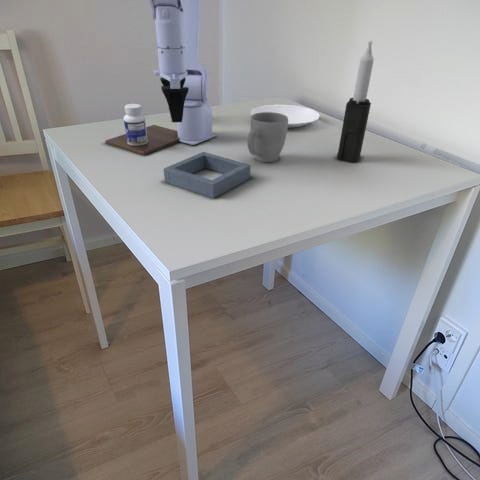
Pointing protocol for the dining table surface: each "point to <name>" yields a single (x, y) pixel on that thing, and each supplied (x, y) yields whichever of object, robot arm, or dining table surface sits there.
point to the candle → (357, 112)
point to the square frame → (185, 179)
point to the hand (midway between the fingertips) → (176, 116)
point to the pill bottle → (135, 125)
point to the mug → (267, 135)
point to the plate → (290, 113)
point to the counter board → (156, 140)
